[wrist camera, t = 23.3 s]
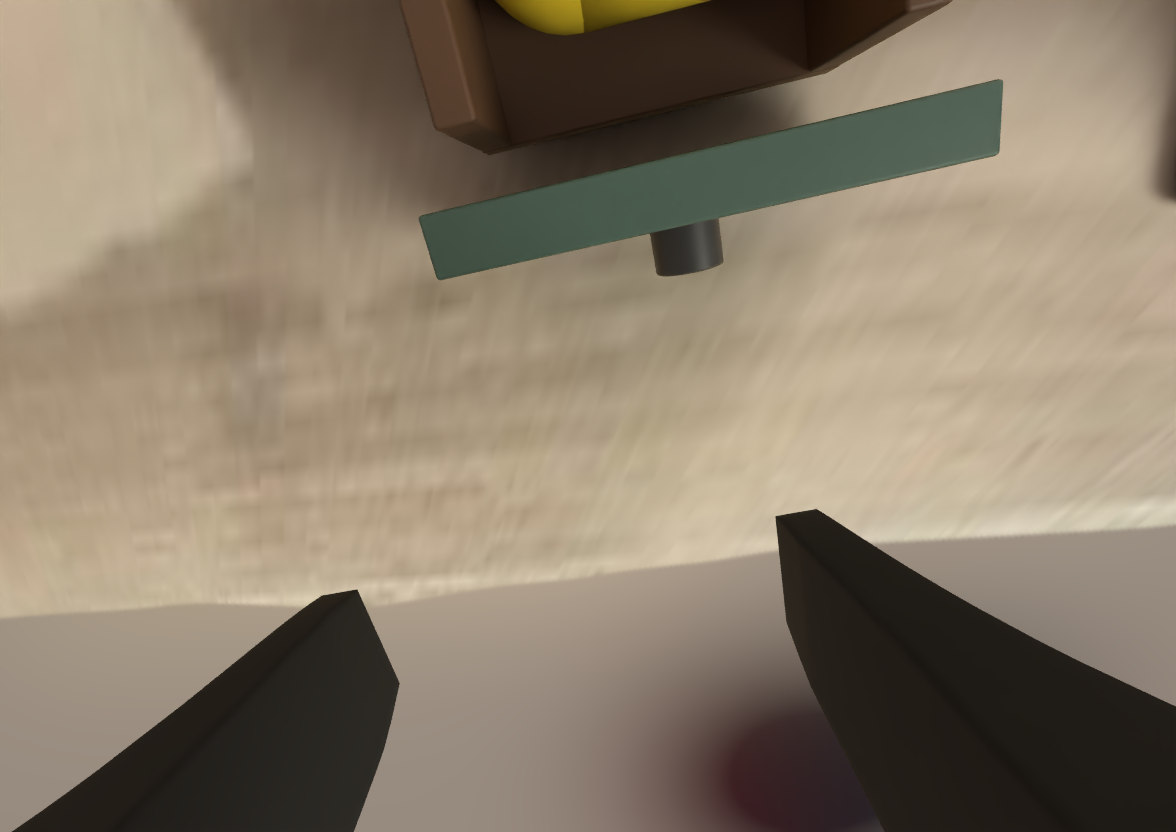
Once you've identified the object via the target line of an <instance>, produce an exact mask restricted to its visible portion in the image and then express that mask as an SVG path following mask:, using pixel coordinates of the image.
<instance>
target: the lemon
mask: <svg viewBox="0 0 1176 832" xmlns="http://www.w3.org/2000/svg"><path fill="white" fill-rule="evenodd" d="M495 1H496V2H497V3H498V4H499V5H500V6H501V7H502V8H503V9H504V10H505V11H506V12H507V13H508V14H509V15H511V16H512V17H513V18H515V19H516V20H518V21H520V22H521V23H523V24H524V25H526V26H528V27H529V28H532V29H535V30H538V31H541V32H544V33H547V34H555V35H565V36H566V35H574V34H581V33H587V32H591V31H595V30H599V29H603V28H607V27H610V26H614V25H618V24H622V23H626V22H630V21H633V20H637V19H641V18H645V17H649V16H653V15H656V14H660V13H664V12H668V11H672V10H676V9H680V8H683V7H687V6H691V5H695V4H699V3H703V2H706V1H710V0H495Z"/></svg>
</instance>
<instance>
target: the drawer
mask: <svg viewBox="0 0 1176 832" xmlns="http://www.w3.org/2000/svg"><path fill="white" fill-rule="evenodd" d="M398 2H399V5H400V9H401V12H402V16H403V19H404V23H405V26H406V30H407V34H408V37H409V41H410V44H411V48H412V51H413V55H414V58H415V62H416V65H417V69H418V72H419V76H420V79H421V83H422V87H423V90H424V94H425V97H426V101H427V104H428V108H429V111H430V115H431V118H432V122H433V125H434V127H435V129H436V130H437V131H440V132H442V133H444V134H446V135H448V136H450V137H453V138H455V139H457V140H459V141H461V142H463V143H466V144H468V145H470V146H472V147H474V148H476V149H479V150H481V151H483V153H486V154H488V155H492V154H496V153H500V152H504V151H508V150H512V149H516V148H520V147H525V146H529V145H533V144H537V143H541V142H545V141H549V140H553V139H557V138H562V137H566V136H570V135H574V134H578V133H582V132H586V131H590V130H594V129H599V128H603V127H607V126H611V125H615V124H619V123H623V122H627V121H631V120H636V119H640V118H644V117H648V116H652V115H656V114H660V113H664V112H668V111H672V110H677V109H681V108H685V107H689V106H693V105H697V104H701V103H705V102H709V101H714V100H718V99H722V98H726V97H730V96H734V95H738V94H742V93H746V92H751V91H755V90H759V89H763V88H767V87H771V86H775V85H779V84H783V83H788V82H792V81H796V80H800V79H804V78H808V77H812V76H816V75H820V74H825V73H827V72H829V71H831V70H833V69H835V68H836V67H838V66H839V65H841V64H842V63H844V62H846V61H848V60H850V59H851V58H853V57H855V56H857V55H858V54H860V53H862V52H864V51H866V50H867V49H869V48H871V47H873V46H874V45H876V44H878V43H880V42H882V41H883V40H885V39H887V38H889V37H890V36H892V35H894V34H896V33H898V32H899V31H901V30H903V29H905V28H906V27H908V26H910V25H912V24H914V23H915V22H917V21H919V20H921V19H922V18H924V17H926V16H928V15H930V14H931V13H933V12H935V11H937V10H938V9H940V8H942V7H944V6H946V5H947V4H949V3H950V2H952V0H710V1H706V2H703V3H699V4H695V5H691V6H687V7H683V8H680V9H676V10H672V11H668V12H664V13H660V14H656V15H653V16H649V17H645V18H641V19H637V20H633V21H630V22H626V23H622V24H618V25H614V26H610V27H607V28H603V29H599V30H595V31H591V32H587V33H581V34H574V35H566V36H565V35H555V34H547V33H544V32H541V31H538V30H535V29H532V28H529V27H528V26H526V25H524V24H523V23H521V22H520V21H518V20H516V19H515V18H513V17H512V16H511V15H509V14H508V13H507V12H506V11H505V10H504V9H503V8H502V7H501V6H500V5H499V4H498V3H497V2H496V1H495V0H398ZM1002 92H1003V81H1002V80H999V79H998V80H993V81H989V82H985V83H981V84H976V85H972V86H968V87H964V88H959V89H955V90H951V91H947V92H943V93H938V94H934V95H930V96H926V97H921V98H917V99H913V100H909V101H904V102H900V103H896V104H892V105H887V106H883V107H879V108H875V109H871V110H866V111H862V112H858V113H854V114H849V115H845V116H841V117H837V118H832V119H828V120H824V121H820V122H815V123H811V124H807V125H803V126H798V127H794V128H790V129H786V130H782V131H777V132H773V133H769V134H765V135H760V136H756V137H752V138H748V139H743V140H739V141H735V142H731V143H726V144H722V145H718V146H714V147H709V148H705V149H701V150H697V151H693V152H688V153H684V154H680V155H676V156H671V157H667V158H663V159H659V160H654V161H650V162H646V163H642V164H637V165H633V166H629V167H625V168H621V169H616V170H612V171H608V172H604V173H599V174H595V175H591V176H587V177H582V178H578V179H574V180H570V181H565V182H561V183H557V184H553V185H548V186H544V187H540V188H536V189H532V190H527V191H523V192H519V193H515V194H510V195H506V196H502V197H498V198H493V199H489V200H485V201H481V202H476V203H472V204H468V205H464V206H459V207H455V208H451V209H447V210H443V211H438V212H434V213H430V214H426V215H421V216H420V217H419V222H420V225H421V228H422V232H423V235H424V238H425V241H426V244H427V248H428V251H429V254H430V257H431V261H432V264H433V267H434V270H435V274H436V277H437V279H438V280H444V279H449V278H453V277H457V276H462V275H466V274H471V273H475V272H480V271H484V270H489V269H493V268H498V267H502V266H506V265H511V264H515V263H520V262H524V261H529V260H533V259H538V258H542V257H547V256H551V255H555V254H560V253H564V252H569V251H573V250H578V249H582V248H587V247H591V246H596V245H600V244H604V243H609V242H613V241H618V240H622V239H627V238H631V237H636V236H640V235H645V234H649V233H650V236H651V242H652V248H653V254H654V261H655V267H656V273H657V275H659V276H678V275H684V274H690V273H695V272H699V271H703V270H707V269H710V268H713V267H716V266H718V265H720V264H721V263H723V252H722V244H721V236H720V228H719V219H718V218H720V217H725V216H729V215H734V214H738V213H743V212H747V211H752V210H756V209H760V208H765V207H769V206H774V205H778V204H783V203H787V202H792V201H796V200H801V199H805V198H810V197H814V196H818V195H823V194H827V193H832V192H836V191H841V190H845V189H850V188H854V187H859V186H863V185H867V184H872V183H876V182H881V181H885V180H890V179H894V178H899V177H903V176H908V175H912V174H916V173H921V172H925V171H930V170H934V169H939V168H943V167H948V166H952V165H957V164H961V163H965V162H970V161H974V160H979V159H983V158H988V157H992V156H995V155H997V154H998V153H999V149H1000V130H1001V111H1002Z"/></svg>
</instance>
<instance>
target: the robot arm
mask: <svg viewBox="0 0 1176 832" xmlns="http://www.w3.org/2000/svg"><path fill="white" fill-rule="evenodd" d="M776 526H777V536H778V545H779V555H780V564H781V574H782V583H783V593H784V602H785V611H786V621H787V625H788V627H789V630H790V633H791V635H792V638H793V641H794V644H795V646H796V649H797V652H798V654H799V657H800V660H801V662H802V665H803V667H804V670H805V672H806V675H807V678H808V680H809V683H810V685H811V688H812V689H813V692H814V694H815V696H816V698H817V700H818V702H819V704H820V706H821V708H822V710H823V712H824V714H825V716H826V717H827V720H828V722H829V724H830V726H831V727H832V729H833V731H834V733H835V735H836V737H837V739H838V741H839V743H840V745H841V747H842V749H843V751H844V753H845V755H846V757H847V759H848V761H849V763H850V765H851V767H852V769H853V770H854V773H855V775H856V777H857V778H858V781H859V782H860V784H861V786H862V788H863V790H864V792H865V794H866V796H867V798H868V800H869V802H870V804H871V806H872V808H873V810H874V812H875V814H876V816H877V818H878V820H879V822H880V824H881V826H882V827H883V829H884V831H885V832H1176V706H1174V705H1171V704H1169V703H1167V702H1165V701H1163V700H1160V699H1158V698H1156V697H1154V696H1152V695H1150V694H1148V693H1146V692H1143V691H1141V690H1139V689H1137V688H1135V687H1133V686H1131V685H1128V684H1126V683H1124V682H1122V681H1120V680H1118V679H1116V678H1114V677H1112V676H1109V675H1107V674H1105V673H1103V672H1101V671H1099V670H1097V669H1094V668H1092V667H1090V666H1088V665H1086V664H1084V663H1082V662H1080V661H1078V660H1076V659H1073V658H1072V657H1070V656H1068V655H1066V654H1064V653H1062V652H1060V651H1058V650H1055V649H1054V648H1052V647H1049V646H1048V645H1046V644H1044V643H1042V642H1040V641H1038V640H1036V639H1034V638H1032V637H1030V636H1028V635H1027V634H1025V633H1023V632H1021V631H1019V630H1017V629H1016V628H1014V627H1012V626H1010V625H1008V624H1006V623H1004V622H1002V621H1001V620H999V619H997V618H995V617H993V616H991V615H990V614H988V613H986V612H984V611H982V610H980V609H978V608H977V607H975V606H973V605H971V604H970V603H968V602H966V601H964V600H963V599H961V598H959V597H957V596H956V595H954V594H952V593H950V592H949V591H947V590H945V589H944V588H942V587H940V586H938V585H937V584H935V583H933V582H932V581H930V580H928V579H927V578H925V577H923V576H922V575H920V574H918V573H917V572H915V571H913V570H912V569H910V568H908V567H907V566H905V565H904V564H902V563H900V562H899V561H897V560H896V559H894V558H892V557H891V556H889V555H888V554H886V553H884V552H883V551H881V550H880V549H878V548H877V547H875V546H873V545H872V544H870V543H869V542H867V541H866V540H864V539H862V538H861V537H859V536H858V535H856V534H855V533H853V532H852V531H850V530H849V529H847V528H846V527H844V526H842V525H841V524H839V523H838V522H836V521H835V520H833V519H832V518H830V517H828V516H827V515H825V514H824V513H822V512H820V511H819V510H817V509H814V510H809V511H803V512H797V513H791V514H786V515H780V516H776ZM398 688H399V681H398V679H397V677H396V674H395V672H394V670H393V668H392V665H391V663H390V661H389V659H388V656H387V654H386V652H385V650H384V648H383V645H382V643H381V641H380V639H379V637H378V635H377V632H376V630H375V628H374V626H373V623H372V621H371V619H370V617H369V615H368V612H367V610H366V608H365V606H364V603H363V601H362V599H361V597H360V595H359V592H358V590H351V591H346V592H340V593H334V594H329V595H323V596H321V597H319V598H318V599H316V600H315V601H313V602H312V603H310V604H309V605H308V606H306V607H305V608H303V609H302V610H301V611H299V612H298V613H297V614H295V615H294V616H293V617H292V618H290V619H289V620H288V621H286V622H285V623H284V624H282V625H281V626H280V627H279V628H277V629H276V630H275V631H273V633H271V634H270V635H268V636H267V637H266V638H265V639H264V640H262V641H261V642H260V643H259V644H258V645H256V646H255V647H254V648H252V649H251V650H250V651H249V652H247V653H246V654H245V655H244V656H243V657H241V658H240V659H239V660H238V661H236V662H235V663H234V664H232V665H231V666H230V667H229V668H228V669H226V670H225V671H224V672H223V673H221V674H220V675H219V676H218V677H216V678H215V679H214V680H213V681H211V682H210V683H209V684H208V685H206V686H205V687H204V688H203V689H202V690H200V691H199V692H198V693H197V694H195V695H194V696H193V697H192V698H191V699H189V700H188V701H187V702H185V703H184V704H183V705H182V706H180V707H179V708H178V709H176V710H175V711H174V712H173V713H171V714H170V715H169V716H167V717H166V718H165V719H164V720H162V721H161V722H160V723H158V724H157V725H156V726H155V727H153V728H152V729H151V730H149V731H148V732H147V733H145V734H144V735H143V736H142V737H140V738H139V739H138V740H136V741H135V742H134V743H132V744H131V745H130V746H129V747H127V748H126V749H125V750H123V751H122V752H121V753H119V754H118V755H117V756H116V757H114V758H113V759H112V760H110V761H109V762H108V763H106V764H105V765H104V766H103V767H101V768H100V769H99V770H97V771H96V772H95V773H93V774H92V775H91V776H89V777H88V778H87V779H85V780H84V781H83V782H81V783H80V784H79V785H77V786H76V787H74V788H73V789H72V790H70V791H69V792H67V793H66V794H65V795H63V796H62V797H61V798H59V799H58V800H57V801H55V802H54V803H52V804H51V805H49V806H48V807H47V808H45V809H44V810H43V811H41V812H40V813H38V814H37V815H35V816H34V817H32V818H31V819H30V820H28V821H27V822H25V823H24V824H22V825H21V826H20V827H18V828H17V829H15V830H14V831H12V832H354V829H355V827H356V824H357V821H358V819H359V816H360V814H361V811H362V808H363V806H364V803H365V800H366V797H367V794H368V792H369V789H370V786H371V784H372V781H373V778H374V776H375V773H376V770H377V767H378V765H379V762H380V759H381V756H382V753H383V750H384V747H385V743H386V739H387V735H388V731H389V727H390V724H391V720H392V715H393V711H394V706H395V702H396V696H397V692H398Z"/></svg>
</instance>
